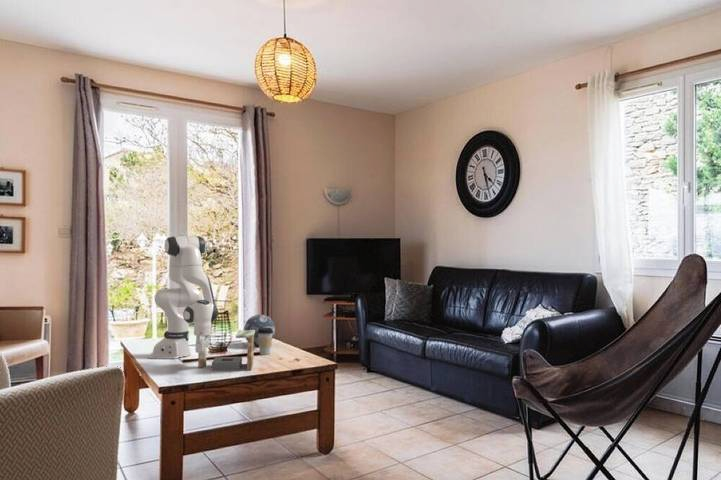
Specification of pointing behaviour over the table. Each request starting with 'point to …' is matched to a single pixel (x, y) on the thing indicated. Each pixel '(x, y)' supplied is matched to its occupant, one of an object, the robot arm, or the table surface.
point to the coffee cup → (265, 340)
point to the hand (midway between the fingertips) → (202, 357)
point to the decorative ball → (259, 325)
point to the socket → (227, 363)
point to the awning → (250, 349)
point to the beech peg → (202, 360)
